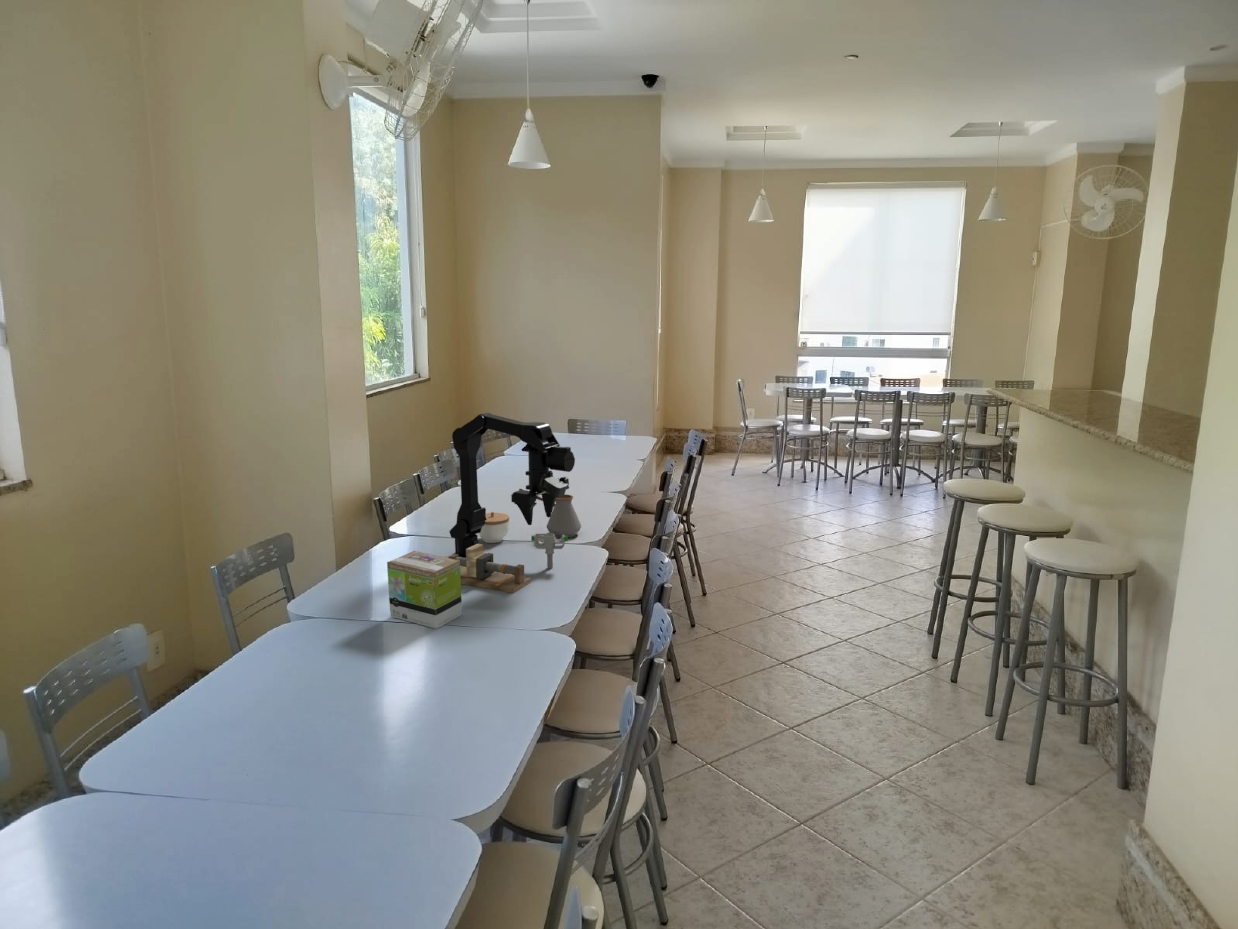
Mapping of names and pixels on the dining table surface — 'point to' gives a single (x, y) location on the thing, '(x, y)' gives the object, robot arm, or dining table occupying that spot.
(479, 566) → the gray slab
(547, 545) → the mechanical component
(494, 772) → the dining table surface
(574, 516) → the coffee pot
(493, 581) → the pipe stand
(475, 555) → the sleeve
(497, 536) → the lidded jar
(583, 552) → the dining table surface
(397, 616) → the tea box
